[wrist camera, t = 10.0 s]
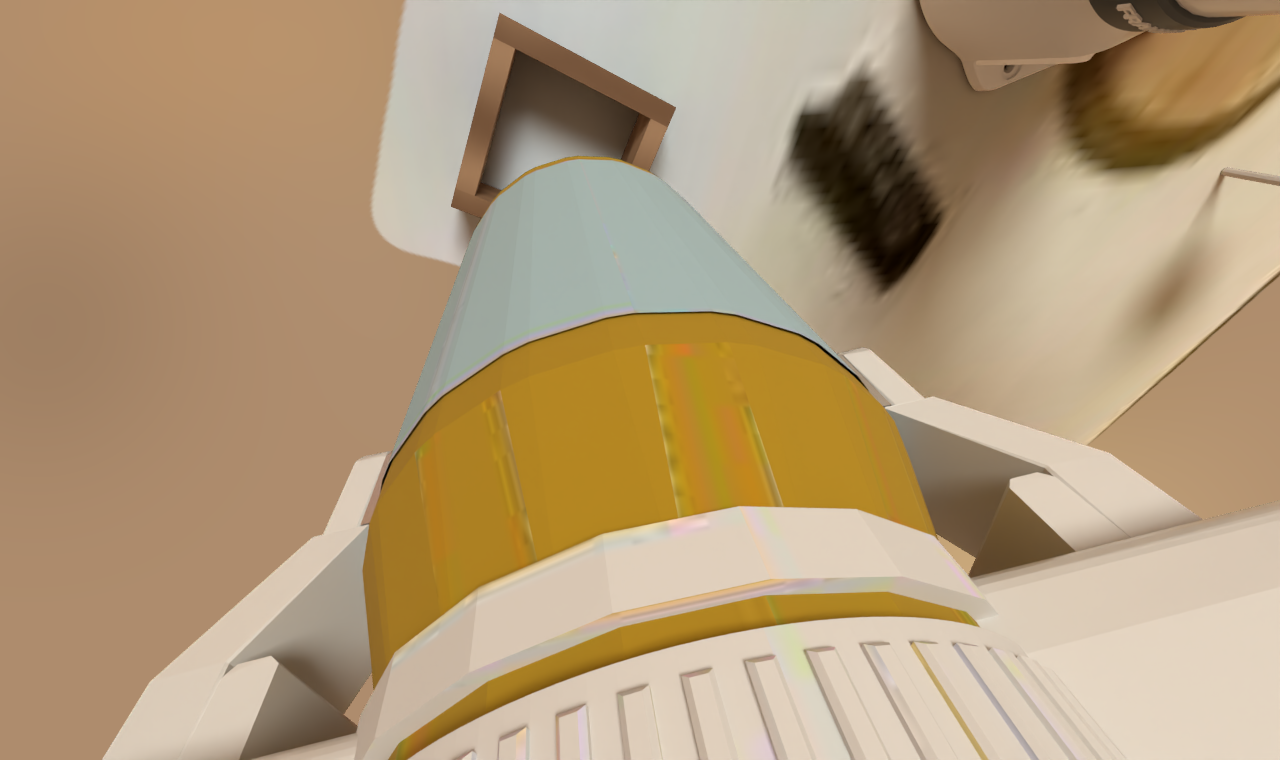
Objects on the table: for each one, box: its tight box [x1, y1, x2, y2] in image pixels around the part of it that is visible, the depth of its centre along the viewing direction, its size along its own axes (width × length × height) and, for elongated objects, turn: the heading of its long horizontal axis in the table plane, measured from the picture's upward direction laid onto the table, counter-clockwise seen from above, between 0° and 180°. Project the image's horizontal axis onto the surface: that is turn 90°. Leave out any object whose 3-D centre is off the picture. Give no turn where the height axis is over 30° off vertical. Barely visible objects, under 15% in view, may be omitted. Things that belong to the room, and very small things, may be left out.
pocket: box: [451, 13, 676, 218], centre depth 32 cm, size 11×11×4 cm
